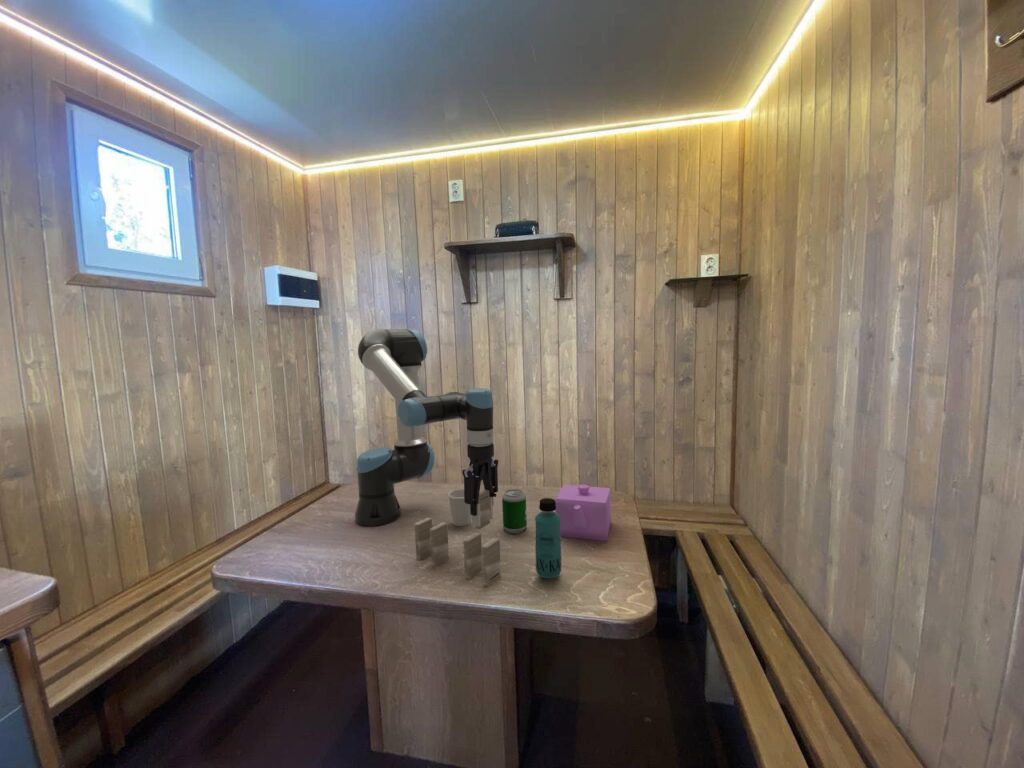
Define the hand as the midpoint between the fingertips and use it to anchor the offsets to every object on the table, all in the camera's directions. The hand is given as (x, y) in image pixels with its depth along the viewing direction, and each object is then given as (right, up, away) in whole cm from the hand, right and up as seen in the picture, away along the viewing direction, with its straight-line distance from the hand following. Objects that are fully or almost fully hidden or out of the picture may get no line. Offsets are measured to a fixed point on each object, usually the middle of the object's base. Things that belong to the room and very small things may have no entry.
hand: (482, 521), depth 123 cm
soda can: (+10, -6, +11) cm, 16 cm away
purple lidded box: (+31, -6, +8) cm, 32 cm away
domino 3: (-1, -9, -14) cm, 17 cm away
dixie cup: (-8, -6, +17) cm, 20 cm away
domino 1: (-16, -8, -4) cm, 18 cm away
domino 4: (0, -1, 0) cm, 1 cm away
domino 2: (-11, -9, -7) cm, 16 cm away
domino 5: (+4, -9, -18) cm, 20 cm away
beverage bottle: (+18, -9, -17) cm, 26 cm away
